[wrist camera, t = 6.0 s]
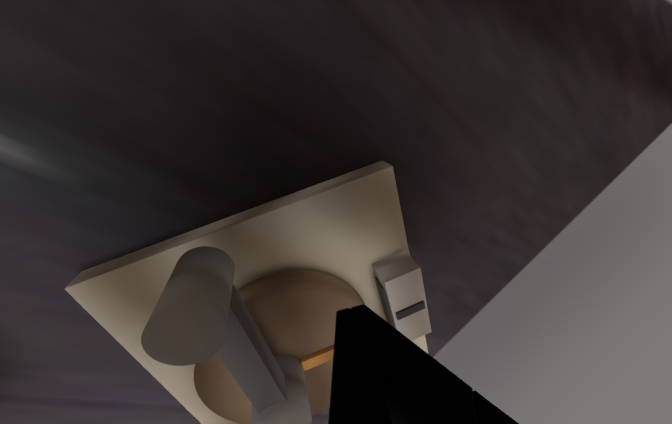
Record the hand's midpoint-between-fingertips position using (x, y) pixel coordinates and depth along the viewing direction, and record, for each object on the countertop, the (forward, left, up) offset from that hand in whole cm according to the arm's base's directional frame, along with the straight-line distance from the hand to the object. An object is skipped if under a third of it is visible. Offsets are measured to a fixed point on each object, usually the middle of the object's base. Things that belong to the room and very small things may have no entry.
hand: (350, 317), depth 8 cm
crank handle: (-4, -6, -8) cm, 11 cm away
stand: (-4, -8, -10) cm, 13 cm away
